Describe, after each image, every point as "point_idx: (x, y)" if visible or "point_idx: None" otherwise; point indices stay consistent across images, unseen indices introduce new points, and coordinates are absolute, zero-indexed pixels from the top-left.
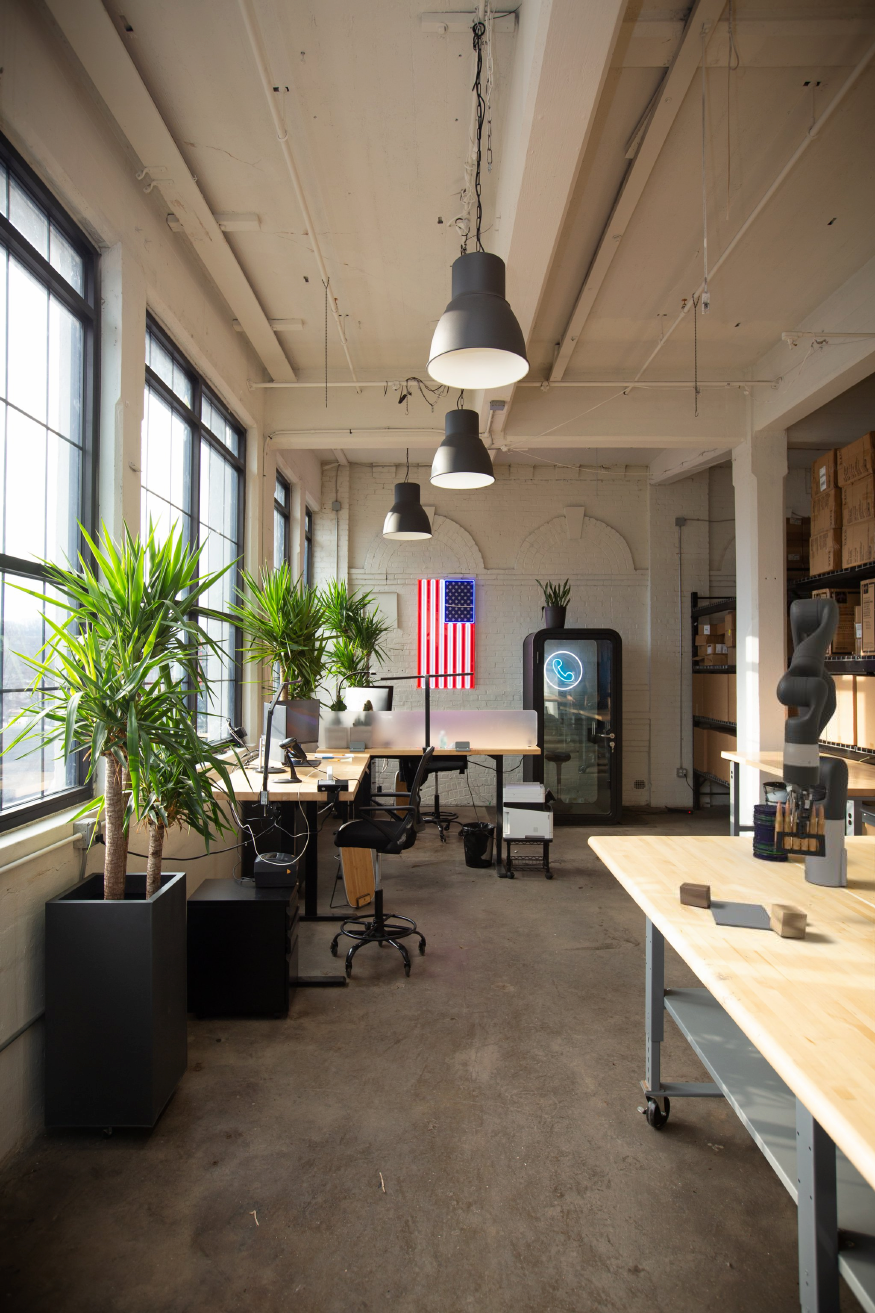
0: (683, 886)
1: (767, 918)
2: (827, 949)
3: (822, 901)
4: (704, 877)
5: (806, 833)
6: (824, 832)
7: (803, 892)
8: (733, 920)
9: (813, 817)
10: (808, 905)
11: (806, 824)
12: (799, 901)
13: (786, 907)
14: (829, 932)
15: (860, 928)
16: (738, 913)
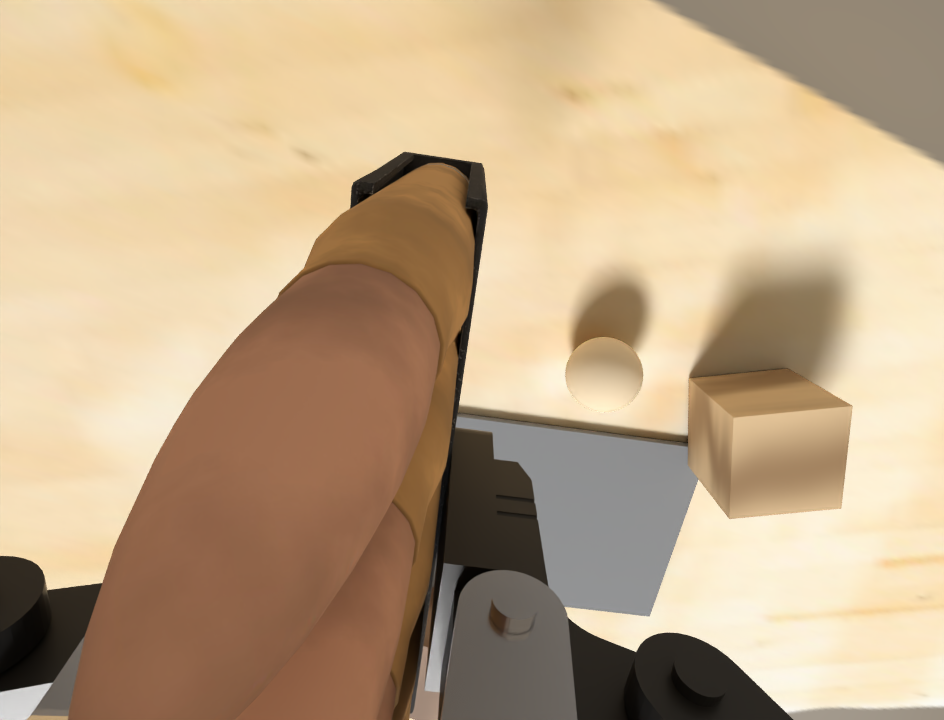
0: (434, 717)
1: (588, 442)
2: (903, 324)
3: (228, 53)
4: (32, 519)
5: (493, 468)
6: (453, 201)
7: (82, 103)
8: (622, 562)
9: (421, 524)
10: (329, 172)
11: (500, 563)
12: (271, 195)
13: (768, 470)
14: (716, 232)
15: (658, 35)
16: (540, 526)
